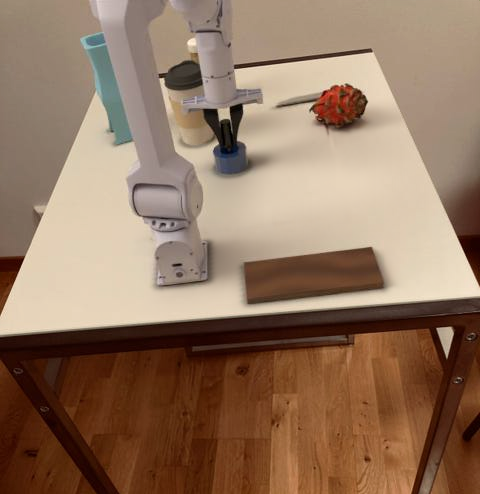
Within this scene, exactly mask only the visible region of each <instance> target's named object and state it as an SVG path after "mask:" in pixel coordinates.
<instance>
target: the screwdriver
mask: <svg viewBox="0 0 480 494" xmlns="http://www.w3.org/2000/svg"><path fill="white" fill-rule="evenodd" d="M219 122H220V127H221V133H222V139H223V145H224V148H227V149H228V154H231V148H232V147H233V146H234V145H233V135H232V125H231V119H229V118H222V119H221V120H219Z"/></svg>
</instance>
